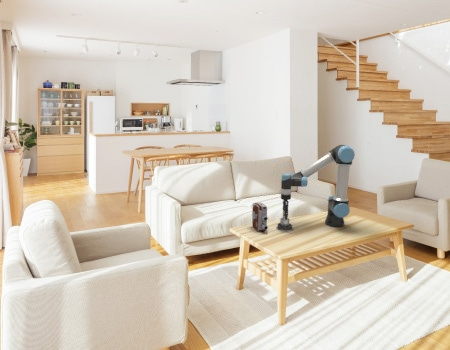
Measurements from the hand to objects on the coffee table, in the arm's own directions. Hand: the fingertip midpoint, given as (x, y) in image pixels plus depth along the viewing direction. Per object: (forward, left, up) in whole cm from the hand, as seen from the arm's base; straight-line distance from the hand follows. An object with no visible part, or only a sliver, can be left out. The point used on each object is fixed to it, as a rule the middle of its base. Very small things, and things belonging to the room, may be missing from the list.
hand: (285, 221), depth 304 cm
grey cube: (0, 0, -5) cm, 5 cm away
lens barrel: (0, 0, -6) cm, 6 cm away
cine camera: (+19, +5, -6) cm, 21 cm away
